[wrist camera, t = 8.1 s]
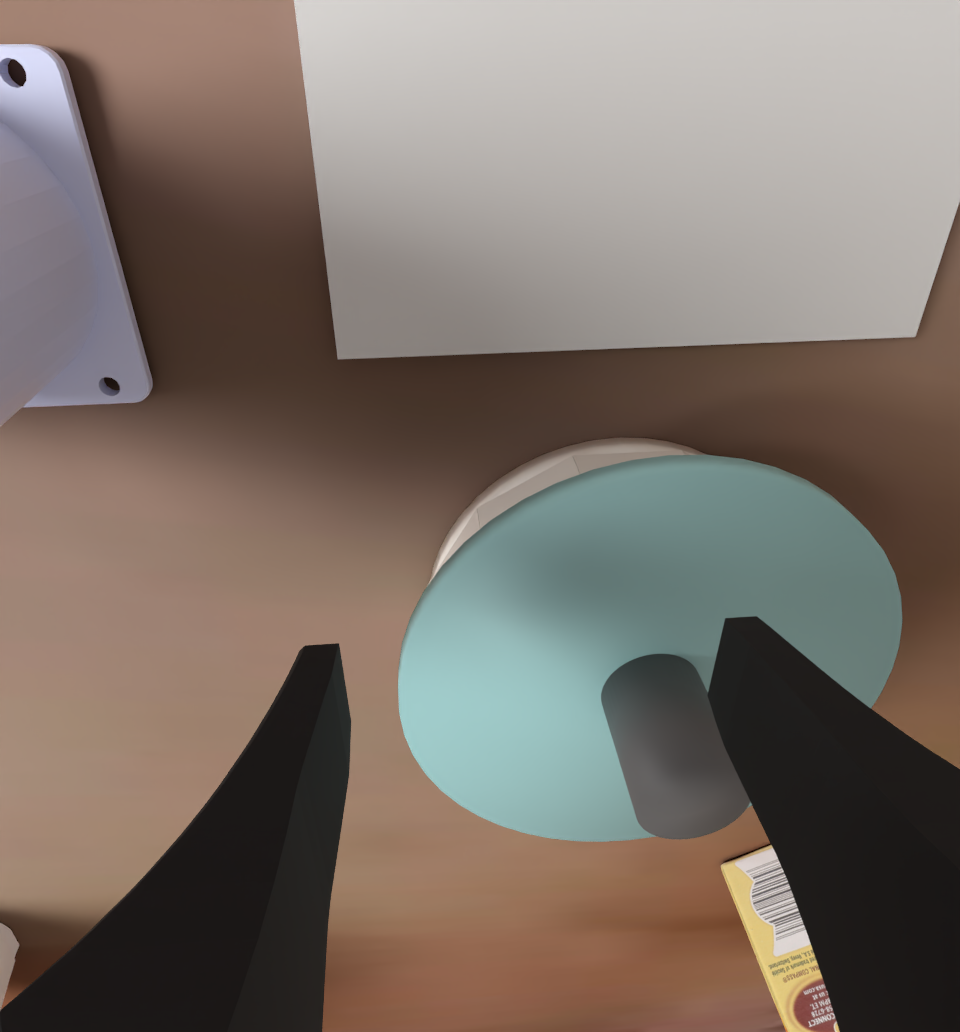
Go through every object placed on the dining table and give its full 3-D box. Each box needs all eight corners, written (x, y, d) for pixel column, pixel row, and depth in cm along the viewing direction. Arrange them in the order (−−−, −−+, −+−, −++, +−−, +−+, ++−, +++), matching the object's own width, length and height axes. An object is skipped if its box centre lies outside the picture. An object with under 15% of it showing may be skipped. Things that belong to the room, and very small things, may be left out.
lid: (390, 823, 23) (387, 966, 20) (410, 439, 16) (411, 553, 12) (790, 816, 25) (855, 947, 21) (974, 468, 18) (1124, 575, 14)
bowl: (436, 724, 28) (441, 829, 24) (419, 446, 21) (422, 531, 17) (737, 702, 28) (788, 800, 25) (810, 428, 22) (894, 504, 18)
